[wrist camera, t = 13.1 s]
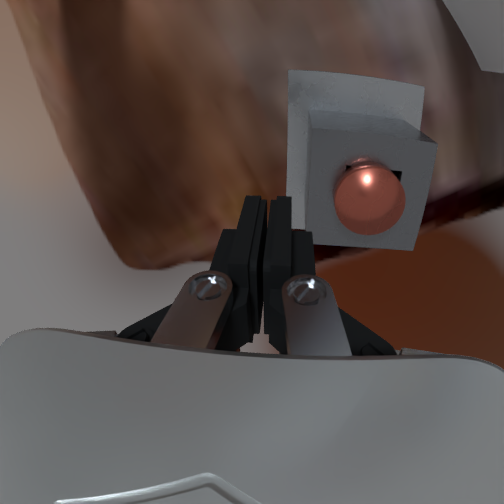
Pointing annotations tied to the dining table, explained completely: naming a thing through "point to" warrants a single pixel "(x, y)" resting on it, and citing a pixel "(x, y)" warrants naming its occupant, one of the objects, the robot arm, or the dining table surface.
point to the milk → (482, 30)
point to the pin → (368, 198)
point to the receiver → (354, 150)
